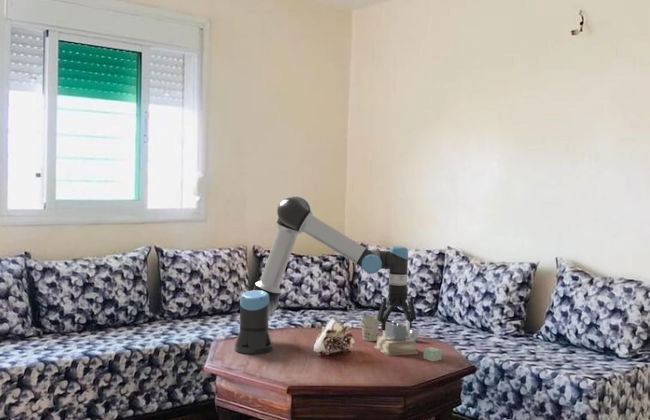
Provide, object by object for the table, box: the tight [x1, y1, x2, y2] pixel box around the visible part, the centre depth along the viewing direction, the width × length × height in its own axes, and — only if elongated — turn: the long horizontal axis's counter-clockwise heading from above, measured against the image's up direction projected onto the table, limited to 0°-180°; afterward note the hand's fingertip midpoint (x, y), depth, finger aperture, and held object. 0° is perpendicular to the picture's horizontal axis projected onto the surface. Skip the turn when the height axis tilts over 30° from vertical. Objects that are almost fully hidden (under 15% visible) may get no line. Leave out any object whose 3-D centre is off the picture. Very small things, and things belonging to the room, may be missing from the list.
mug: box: [360, 315, 383, 342], centre depth 294 cm, size 8×13×10 cm, turn 107°
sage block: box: [423, 347, 442, 362], centre depth 264 cm, size 5×5×4 cm
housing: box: [387, 320, 406, 341], centre depth 275 cm, size 5×8×7 cm, turn 19°
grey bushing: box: [408, 328, 420, 343], centre depth 293 cm, size 4×4×5 cm
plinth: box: [373, 336, 419, 357], centre depth 275 cm, size 14×14×5 cm
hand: (396, 337), depth 275 cm, fingers open, 9 cm apart
